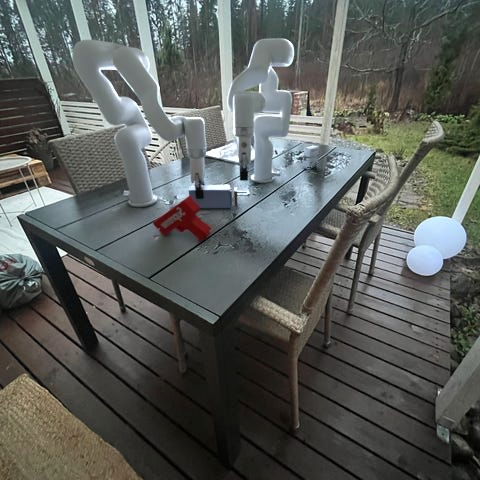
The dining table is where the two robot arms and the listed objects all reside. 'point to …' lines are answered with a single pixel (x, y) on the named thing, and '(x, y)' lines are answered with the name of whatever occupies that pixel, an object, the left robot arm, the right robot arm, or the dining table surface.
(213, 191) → the cabinet
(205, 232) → the toy gun
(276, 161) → the dining table surface
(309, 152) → the ink box
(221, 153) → the relief map
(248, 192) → the drawer
